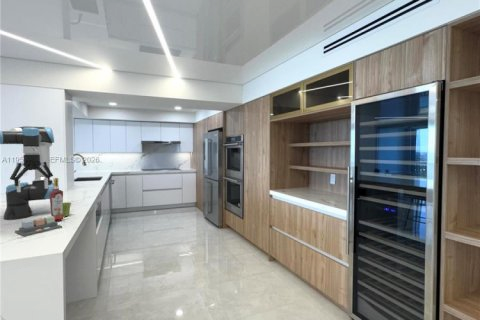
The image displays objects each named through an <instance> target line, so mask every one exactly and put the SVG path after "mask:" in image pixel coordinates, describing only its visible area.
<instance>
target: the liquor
mask: <svg viewBox="0 0 480 320" xmlns="http://www.w3.org/2000/svg"><path fill="white" fill-rule="evenodd" d="M52 182H53V183H54V188H53V191H51V192H49V195H50V199H49V204H50V214H51V215H50V216H53V217H55V222H61V221H62V220H63V219H64V217H63V203H64V191H63V190H61V189H60V186H59V177H54V178H52Z"/></svg>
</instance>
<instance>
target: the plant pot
mask: <svg viewBox="0 0 480 320" xmlns="http://www.w3.org/2000/svg"><path fill="white" fill-rule="evenodd" d="M71 205H72V202H63V218H66V217H69V216H70V211H71V210H70V209H71Z"/></svg>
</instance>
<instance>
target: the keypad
mask: <svg viewBox="0 0 480 320" xmlns="http://www.w3.org/2000/svg"><path fill="white" fill-rule="evenodd" d="M58 222H59V221H56V222H53V223H49V224H46V223H45V224H44V225H40V226H34V227H31V228H26V229H24V228H22V226H21V227H18V230H14V233H15V234H17V235H19V236H22V237H29V236H33V235H37V234H41V233H42V234H43V233H45V232H49V231H54V230H57V229H59V230H60V229H62V228H63V226H62V225H60V224H58Z"/></svg>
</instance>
